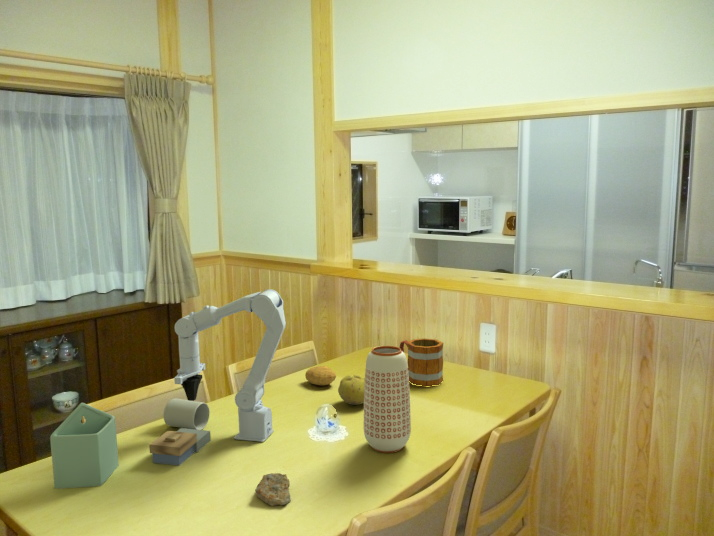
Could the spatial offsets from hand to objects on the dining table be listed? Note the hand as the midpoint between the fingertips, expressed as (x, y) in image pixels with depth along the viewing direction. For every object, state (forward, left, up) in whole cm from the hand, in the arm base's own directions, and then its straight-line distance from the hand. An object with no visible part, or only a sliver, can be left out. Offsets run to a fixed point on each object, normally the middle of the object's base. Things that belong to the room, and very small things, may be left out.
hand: (191, 399), depth 175 cm
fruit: (-42, -33, -11) cm, 54 cm away
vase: (-59, -3, -11) cm, 60 cm away
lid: (-3, +16, -7) cm, 18 cm away
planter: (+10, +32, -11) cm, 35 cm away
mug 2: (-60, -63, -11) cm, 88 cm away
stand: (-3, +8, -10) cm, 13 cm away
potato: (-25, -50, -11) cm, 57 cm away
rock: (-38, +29, -11) cm, 49 cm away
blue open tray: (-3, +16, -10) cm, 19 cm away
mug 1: (+9, -6, -7) cm, 13 cm away
